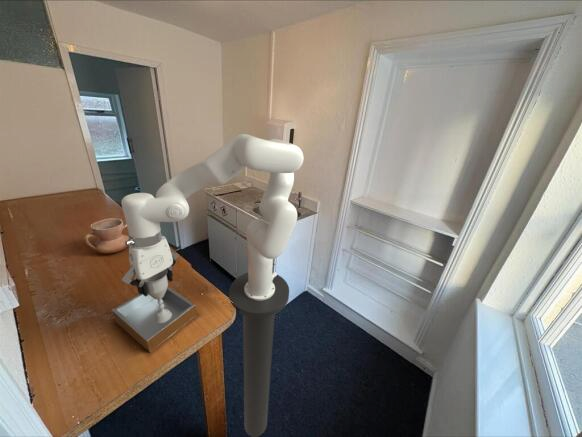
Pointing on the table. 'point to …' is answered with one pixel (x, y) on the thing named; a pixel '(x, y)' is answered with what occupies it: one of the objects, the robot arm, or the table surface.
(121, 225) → the ceramic jug
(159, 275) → the chalice
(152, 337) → the grey rectangular tray
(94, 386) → the table surface
